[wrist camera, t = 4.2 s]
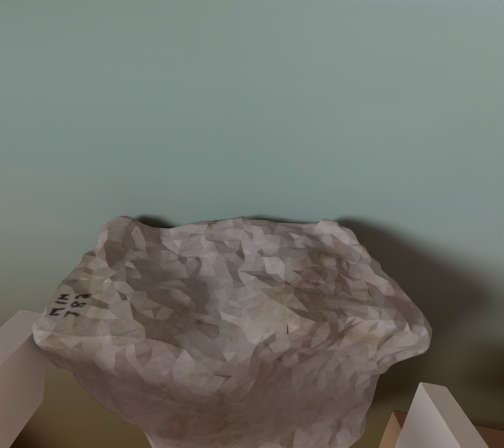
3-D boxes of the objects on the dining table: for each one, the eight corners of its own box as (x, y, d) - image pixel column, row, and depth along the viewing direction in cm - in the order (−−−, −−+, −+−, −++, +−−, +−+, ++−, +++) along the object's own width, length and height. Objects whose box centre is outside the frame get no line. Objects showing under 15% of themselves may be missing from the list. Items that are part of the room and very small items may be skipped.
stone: (331, 415, 16) (370, 580, 10) (89, 365, 16) (-6, 510, 10) (396, 230, 14) (491, 313, 8) (116, 165, 13) (13, 207, 8)
